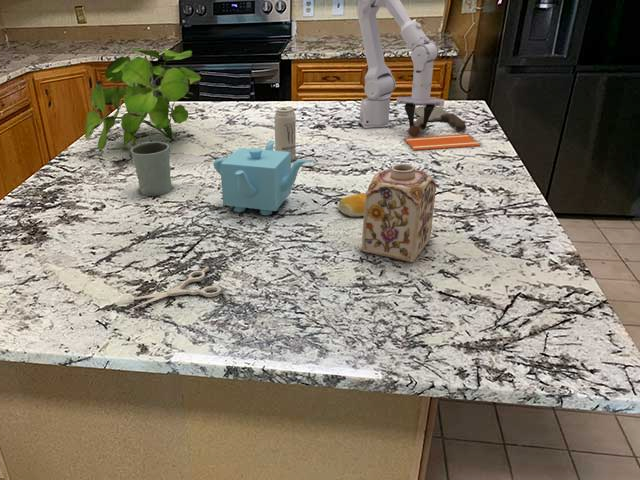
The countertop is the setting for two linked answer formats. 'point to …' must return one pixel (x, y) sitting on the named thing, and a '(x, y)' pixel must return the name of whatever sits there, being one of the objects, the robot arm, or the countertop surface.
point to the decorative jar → (398, 213)
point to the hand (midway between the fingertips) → (417, 127)
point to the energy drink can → (285, 131)
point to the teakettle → (257, 178)
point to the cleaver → (442, 117)
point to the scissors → (180, 291)
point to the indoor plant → (141, 96)
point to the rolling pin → (416, 127)
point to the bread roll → (353, 205)
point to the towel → (441, 142)
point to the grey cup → (152, 167)
